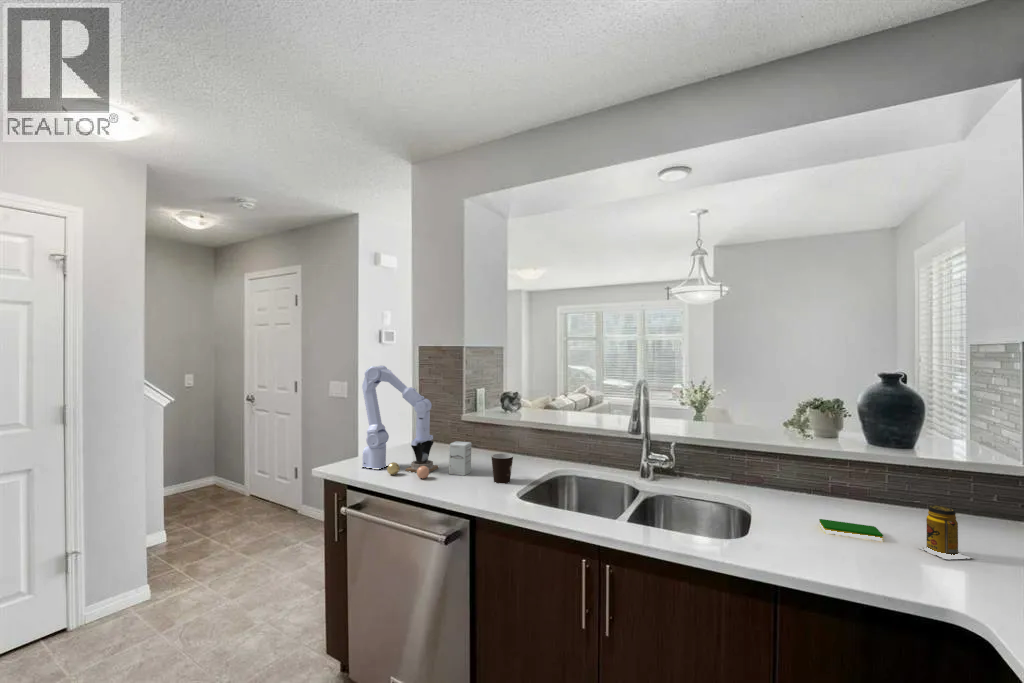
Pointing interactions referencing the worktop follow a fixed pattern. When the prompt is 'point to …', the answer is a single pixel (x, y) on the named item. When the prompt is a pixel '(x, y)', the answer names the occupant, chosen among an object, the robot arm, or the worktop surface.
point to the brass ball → (393, 468)
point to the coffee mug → (502, 467)
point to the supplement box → (460, 458)
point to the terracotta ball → (422, 472)
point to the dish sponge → (850, 528)
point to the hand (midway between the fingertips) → (422, 459)
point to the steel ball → (424, 458)
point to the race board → (416, 465)
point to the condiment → (942, 530)
